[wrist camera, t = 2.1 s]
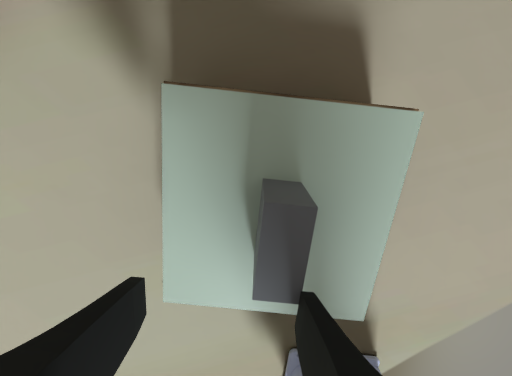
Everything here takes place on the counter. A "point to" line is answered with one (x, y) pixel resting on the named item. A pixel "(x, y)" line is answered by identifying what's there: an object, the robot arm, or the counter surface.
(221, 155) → the lid
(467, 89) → the counter surface
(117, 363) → the robot arm
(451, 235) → the counter surface
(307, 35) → the counter surface
